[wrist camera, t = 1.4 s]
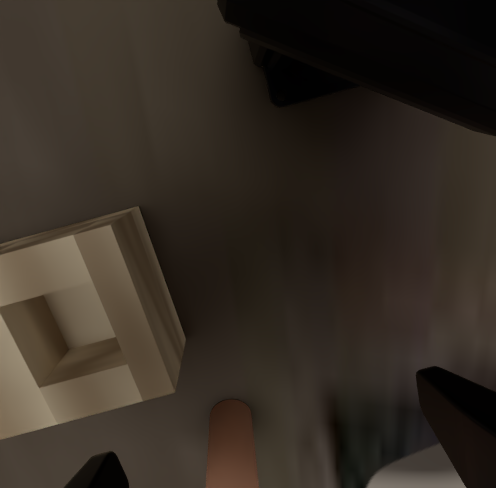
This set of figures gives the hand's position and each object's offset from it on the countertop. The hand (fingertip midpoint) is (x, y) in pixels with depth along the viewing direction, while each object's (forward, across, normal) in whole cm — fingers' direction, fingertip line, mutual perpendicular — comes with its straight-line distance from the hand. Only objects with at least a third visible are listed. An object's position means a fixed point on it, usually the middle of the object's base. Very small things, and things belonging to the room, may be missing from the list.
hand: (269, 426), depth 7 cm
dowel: (+12, +3, +10) cm, 16 cm away
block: (+12, +9, 0) cm, 15 cm away
